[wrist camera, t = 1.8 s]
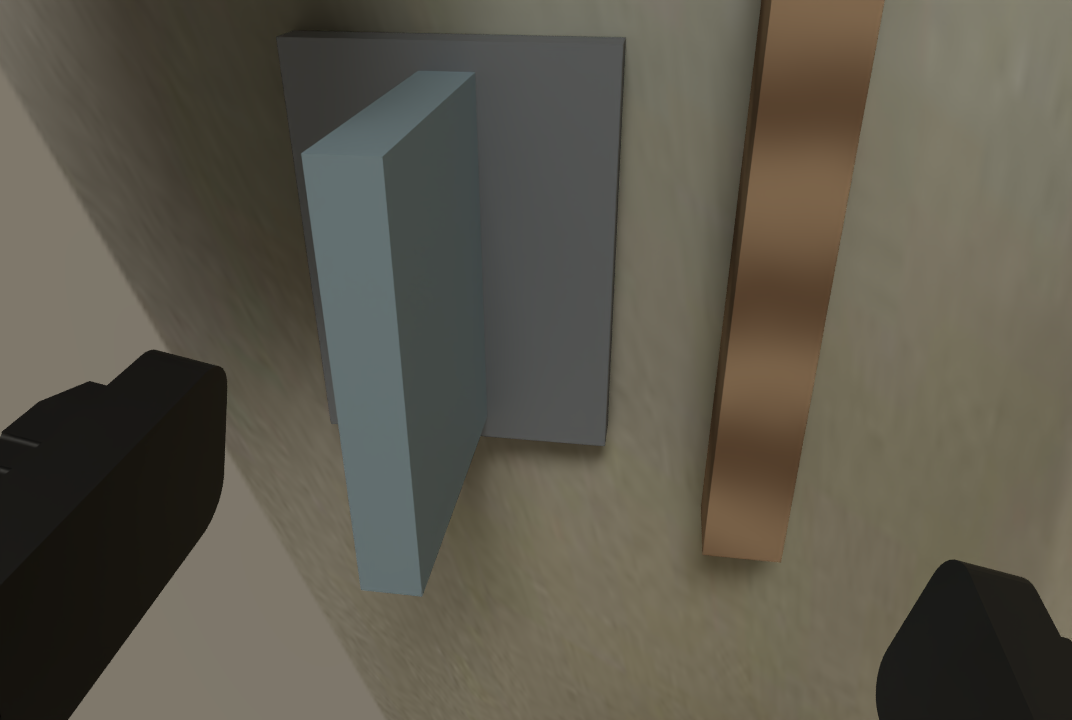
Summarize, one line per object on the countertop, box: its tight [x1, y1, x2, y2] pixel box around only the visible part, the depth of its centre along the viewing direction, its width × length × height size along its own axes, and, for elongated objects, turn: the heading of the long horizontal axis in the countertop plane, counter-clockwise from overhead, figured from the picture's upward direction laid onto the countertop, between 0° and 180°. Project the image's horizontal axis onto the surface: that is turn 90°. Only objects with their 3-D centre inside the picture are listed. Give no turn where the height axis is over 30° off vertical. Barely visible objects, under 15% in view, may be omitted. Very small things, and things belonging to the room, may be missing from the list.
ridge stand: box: [276, 31, 626, 596], centre depth 29 cm, size 12×16×12 cm
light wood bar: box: [701, 0, 885, 562], centre depth 31 cm, size 24×3×4 cm, turn 0°
